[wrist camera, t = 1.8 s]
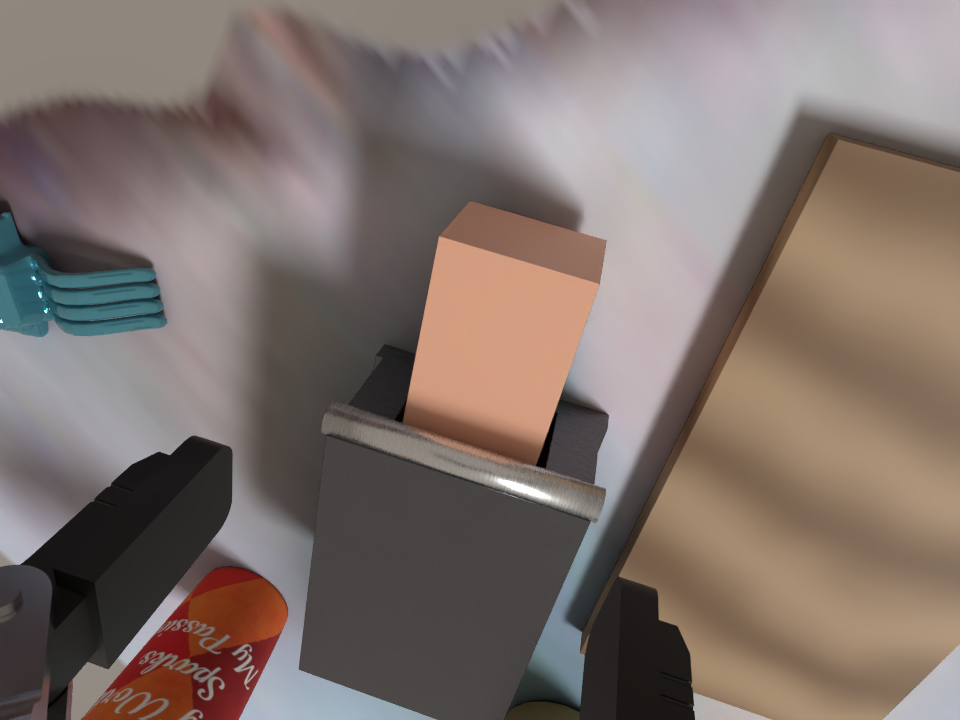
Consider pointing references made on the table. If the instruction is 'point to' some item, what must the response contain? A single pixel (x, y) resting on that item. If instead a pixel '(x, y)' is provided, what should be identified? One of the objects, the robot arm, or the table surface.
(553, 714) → the squeeze bottle
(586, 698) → the robot arm
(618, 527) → the table surface
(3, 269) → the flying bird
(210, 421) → the table surface
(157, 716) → the paper cup
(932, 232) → the board
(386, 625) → the dispenser
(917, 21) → the table surface
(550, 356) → the block
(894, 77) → the table surface
